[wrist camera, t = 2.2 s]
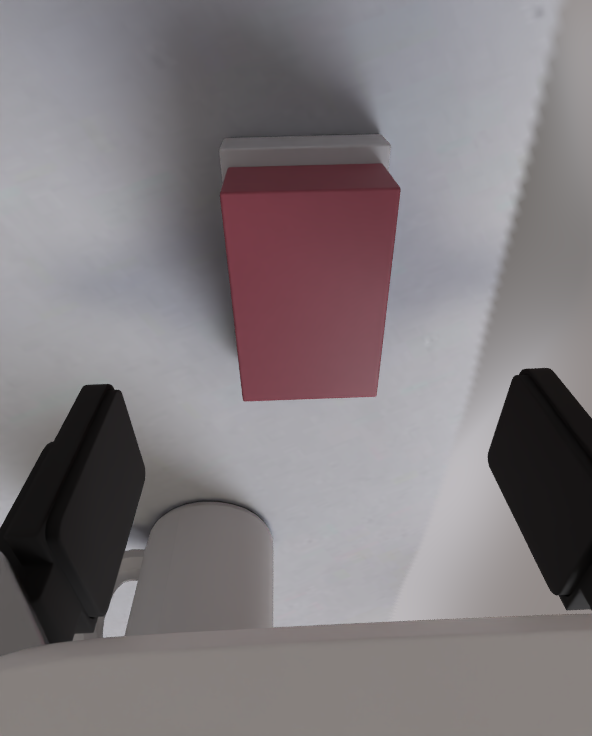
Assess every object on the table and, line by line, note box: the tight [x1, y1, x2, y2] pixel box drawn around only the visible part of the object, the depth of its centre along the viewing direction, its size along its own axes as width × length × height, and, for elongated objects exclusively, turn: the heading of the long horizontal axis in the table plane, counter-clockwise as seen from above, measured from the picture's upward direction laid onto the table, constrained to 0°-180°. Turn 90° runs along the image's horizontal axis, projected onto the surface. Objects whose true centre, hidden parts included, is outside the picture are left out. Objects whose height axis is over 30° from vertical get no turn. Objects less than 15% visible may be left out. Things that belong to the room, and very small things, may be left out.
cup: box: [73, 502, 273, 641], centre depth 24 cm, size 7×10×9 cm
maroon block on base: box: [219, 134, 401, 401], centre depth 16 cm, size 9×5×4 cm, turn 1°
